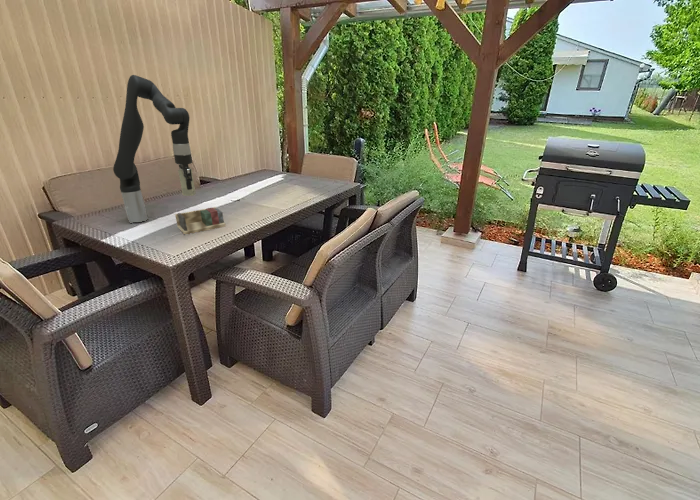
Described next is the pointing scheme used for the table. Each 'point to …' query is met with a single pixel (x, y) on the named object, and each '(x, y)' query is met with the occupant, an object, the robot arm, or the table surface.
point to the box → (183, 185)
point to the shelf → (200, 220)
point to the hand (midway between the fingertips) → (187, 187)
